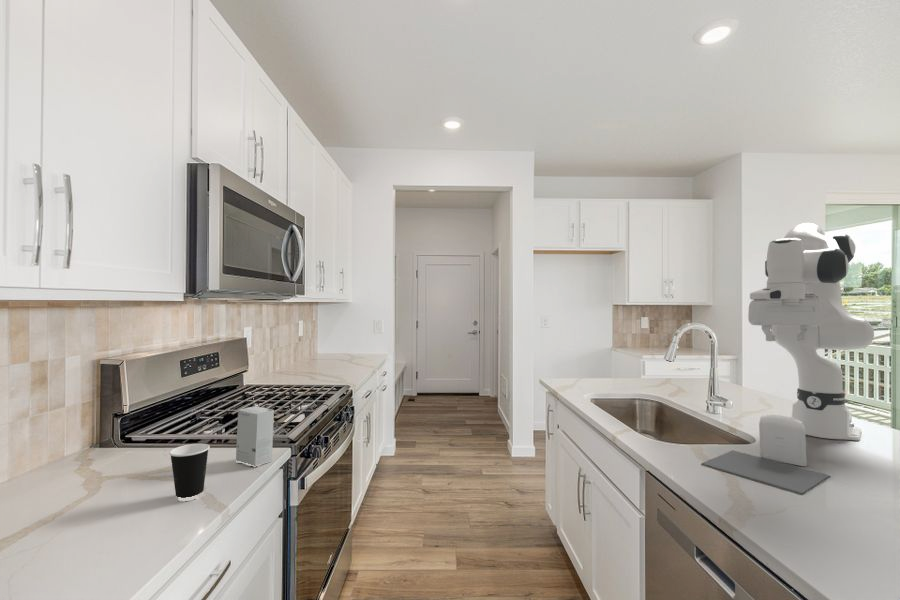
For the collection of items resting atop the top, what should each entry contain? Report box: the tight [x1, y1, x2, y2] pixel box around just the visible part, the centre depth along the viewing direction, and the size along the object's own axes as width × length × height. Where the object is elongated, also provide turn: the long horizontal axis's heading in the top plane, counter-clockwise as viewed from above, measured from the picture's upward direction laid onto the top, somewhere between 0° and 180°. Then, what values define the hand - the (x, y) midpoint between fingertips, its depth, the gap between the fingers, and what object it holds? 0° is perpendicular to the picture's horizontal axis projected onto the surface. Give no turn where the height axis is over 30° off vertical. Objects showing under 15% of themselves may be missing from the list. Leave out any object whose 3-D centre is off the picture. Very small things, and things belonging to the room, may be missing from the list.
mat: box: [701, 449, 831, 496], centre depth 111 cm, size 18×22×1 cm
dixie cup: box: [168, 443, 211, 498], centre depth 98 cm, size 8×8×11 cm
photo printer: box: [758, 414, 807, 467], centre depth 118 cm, size 10×4×12 cm, turn 39°
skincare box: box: [235, 405, 275, 466], centre depth 119 cm, size 8×6×15 cm
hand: (786, 341), depth 124 cm, fingers open, 8 cm apart
